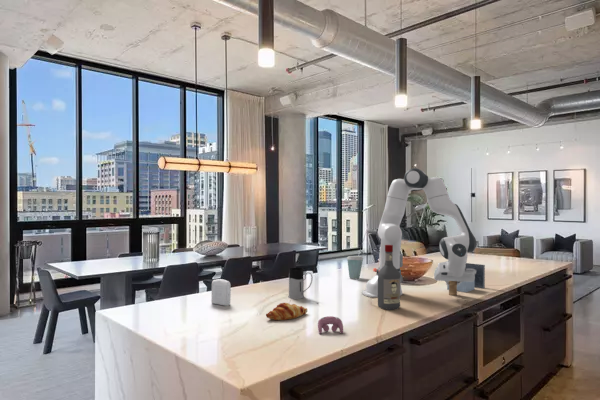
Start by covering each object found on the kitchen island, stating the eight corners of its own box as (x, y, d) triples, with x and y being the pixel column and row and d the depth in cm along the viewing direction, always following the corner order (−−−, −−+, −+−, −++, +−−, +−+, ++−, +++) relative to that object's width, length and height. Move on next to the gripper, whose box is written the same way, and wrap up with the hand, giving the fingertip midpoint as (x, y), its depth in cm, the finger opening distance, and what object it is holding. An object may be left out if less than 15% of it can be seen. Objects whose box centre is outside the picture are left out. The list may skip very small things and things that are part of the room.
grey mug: (293, 294, 236) (293, 267, 236) (316, 297, 228) (316, 269, 228) (284, 297, 228) (284, 269, 228) (308, 300, 221) (308, 271, 221)
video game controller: (342, 335, 170) (341, 317, 173) (344, 333, 165) (343, 314, 169) (317, 335, 169) (317, 317, 172) (318, 333, 165) (317, 315, 168)
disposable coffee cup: (344, 277, 288) (344, 255, 288) (358, 276, 291) (358, 254, 291) (350, 280, 278) (350, 257, 278) (366, 279, 281) (365, 256, 281)
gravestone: (231, 304, 213) (231, 279, 213) (226, 306, 209) (226, 280, 209) (215, 302, 218) (215, 277, 218) (210, 303, 214) (210, 279, 214)
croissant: (303, 320, 198) (298, 303, 201) (315, 313, 191) (310, 296, 194) (263, 326, 186) (259, 308, 189) (274, 320, 179) (269, 301, 182)
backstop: (469, 294, 236) (469, 268, 236) (442, 290, 247) (442, 265, 247) (484, 288, 250) (484, 264, 250) (458, 285, 261) (458, 262, 261)
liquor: (375, 306, 210) (375, 244, 210) (391, 304, 213) (391, 243, 213) (385, 310, 201) (385, 246, 201) (402, 308, 204) (402, 245, 204)
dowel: (452, 296, 229) (452, 274, 229) (447, 295, 233) (447, 273, 233) (458, 296, 231) (458, 274, 231) (453, 294, 234) (453, 272, 234)
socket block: (466, 292, 238) (466, 274, 238) (447, 289, 246) (447, 271, 246) (474, 289, 246) (474, 271, 246) (455, 286, 254) (455, 269, 254)
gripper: (476, 264, 223) (472, 279, 233) (435, 262, 227) (432, 278, 237) (477, 274, 219) (473, 289, 228) (435, 272, 223) (433, 287, 232)
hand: (452, 283), depth 233 cm, fingers closed on dowel, 4 cm apart
